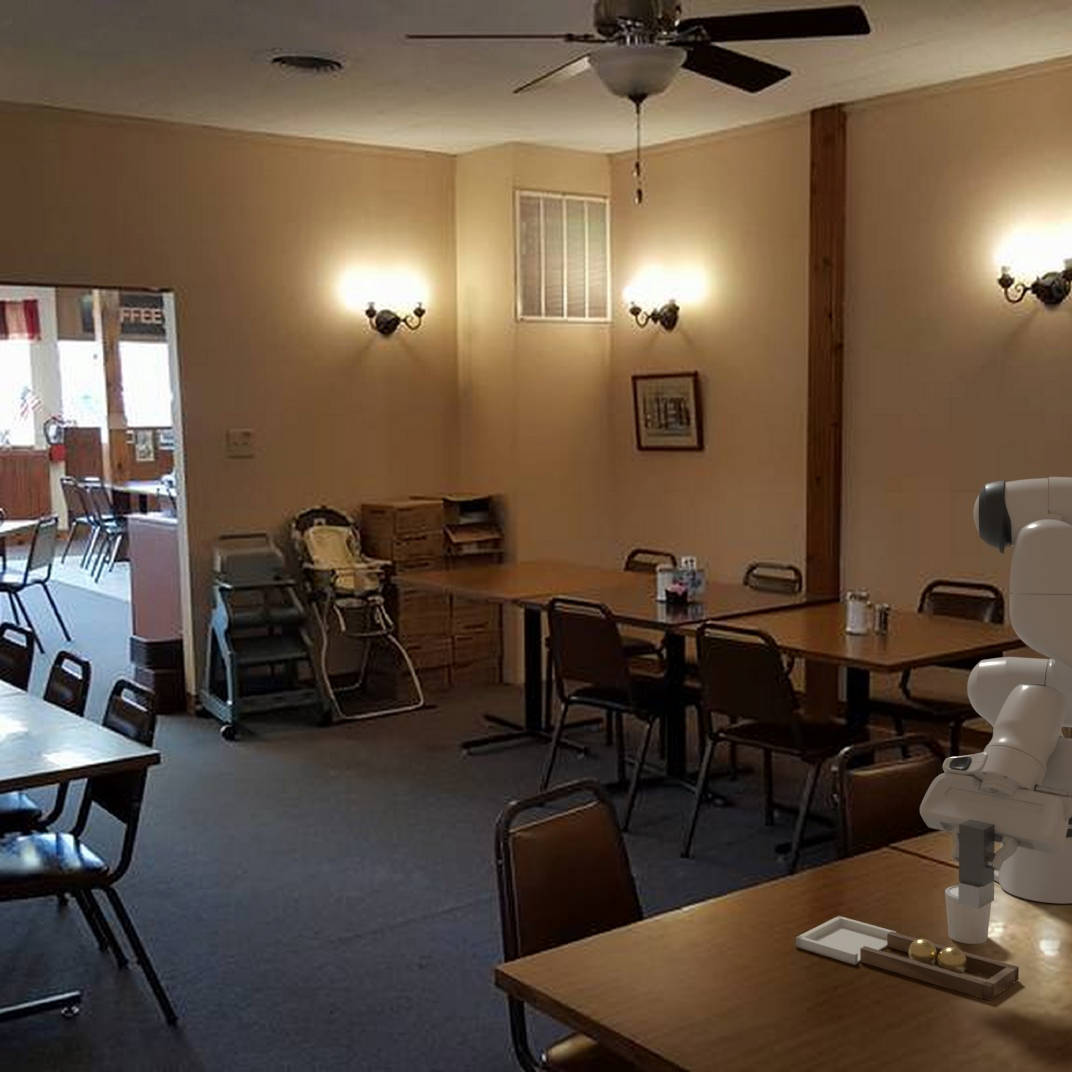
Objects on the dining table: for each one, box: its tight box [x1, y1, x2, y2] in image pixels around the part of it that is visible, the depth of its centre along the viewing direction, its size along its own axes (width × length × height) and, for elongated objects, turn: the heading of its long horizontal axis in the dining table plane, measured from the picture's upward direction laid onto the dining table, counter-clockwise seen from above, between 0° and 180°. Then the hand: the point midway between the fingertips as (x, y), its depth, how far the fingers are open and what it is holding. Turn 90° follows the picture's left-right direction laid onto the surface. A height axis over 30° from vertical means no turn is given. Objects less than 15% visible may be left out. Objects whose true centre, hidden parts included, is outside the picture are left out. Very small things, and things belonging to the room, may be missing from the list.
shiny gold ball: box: [907, 938, 937, 966], centre depth 189 cm, size 4×4×4 cm
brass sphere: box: [936, 946, 967, 975], centre depth 185 cm, size 4×4×4 cm
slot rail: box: [859, 930, 1020, 1001], centre depth 187 cm, size 9×20×2 cm, turn 46°
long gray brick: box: [958, 819, 995, 909], centre depth 182 cm, size 4×4×11 cm
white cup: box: [944, 884, 992, 945], centre depth 199 cm, size 7×7×7 cm
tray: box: [795, 915, 898, 966], centre depth 197 cm, size 12×10×2 cm
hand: (974, 863), depth 181 cm, fingers closed on long gray brick, 4 cm apart
